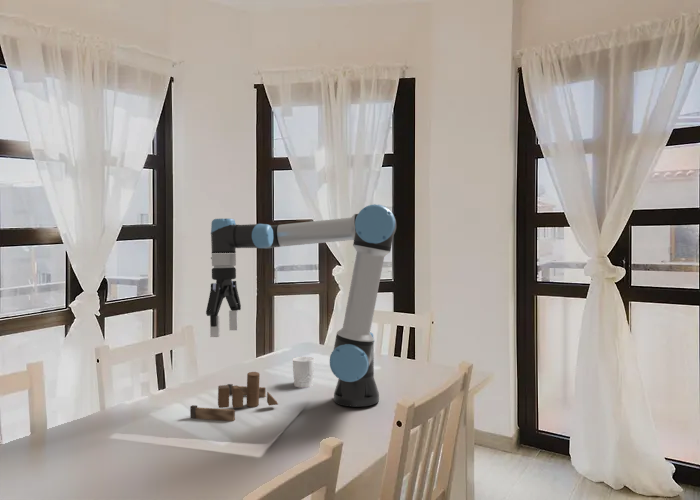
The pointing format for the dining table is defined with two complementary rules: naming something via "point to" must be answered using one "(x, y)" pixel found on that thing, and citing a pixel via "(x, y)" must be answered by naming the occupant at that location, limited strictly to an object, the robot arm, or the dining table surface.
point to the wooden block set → (238, 393)
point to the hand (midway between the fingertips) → (224, 333)
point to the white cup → (303, 371)
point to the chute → (220, 413)
